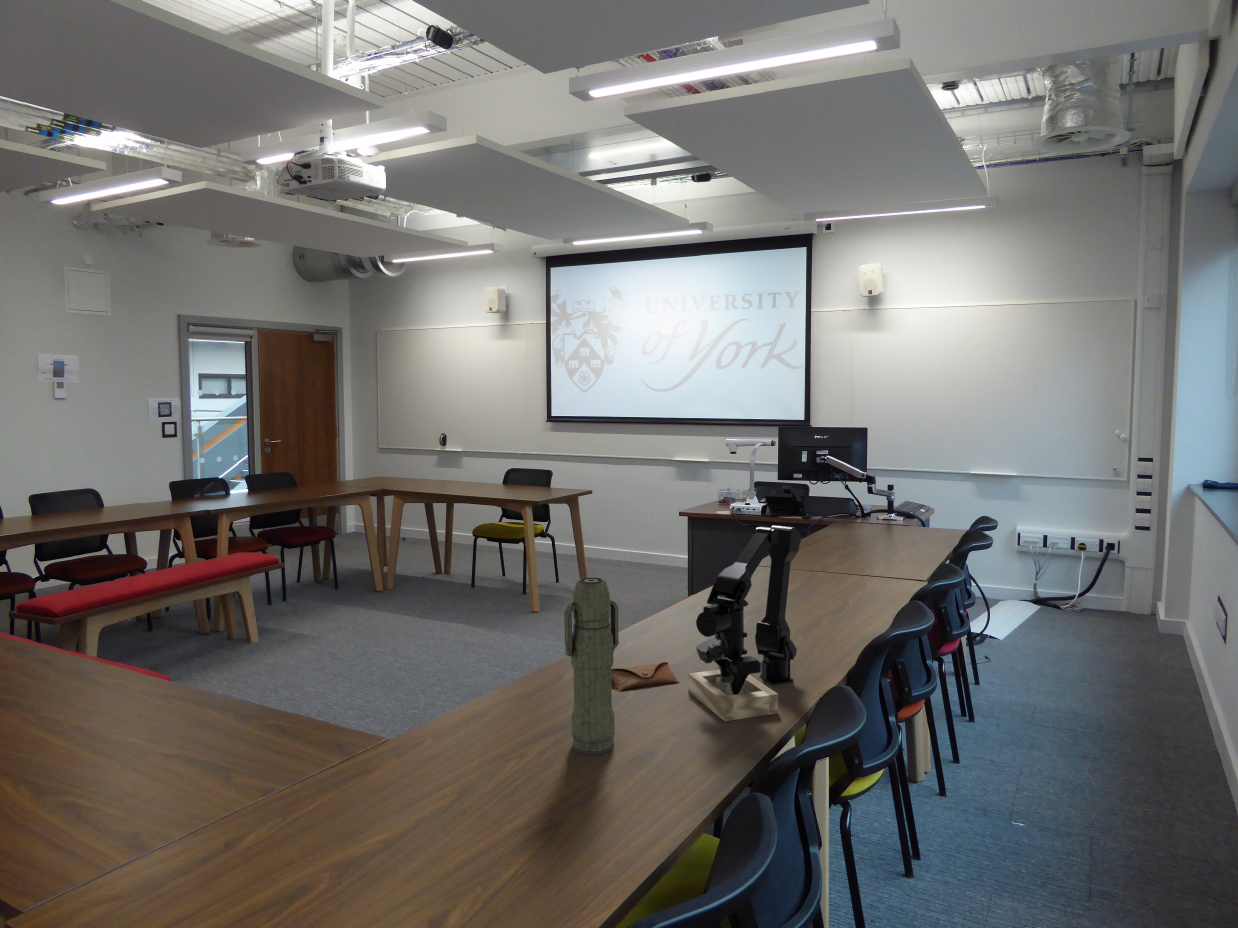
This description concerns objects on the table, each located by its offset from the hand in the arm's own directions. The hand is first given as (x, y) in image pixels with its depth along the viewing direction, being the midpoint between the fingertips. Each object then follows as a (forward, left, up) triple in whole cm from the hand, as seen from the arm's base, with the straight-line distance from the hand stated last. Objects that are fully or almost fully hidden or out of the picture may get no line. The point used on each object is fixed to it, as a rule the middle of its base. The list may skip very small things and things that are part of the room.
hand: (731, 691), depth 190 cm
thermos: (+38, +12, -3) cm, 40 cm away
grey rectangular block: (0, 0, -1) cm, 1 cm away
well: (0, 0, -2) cm, 3 cm away
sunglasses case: (+15, -20, -3) cm, 25 cm away
